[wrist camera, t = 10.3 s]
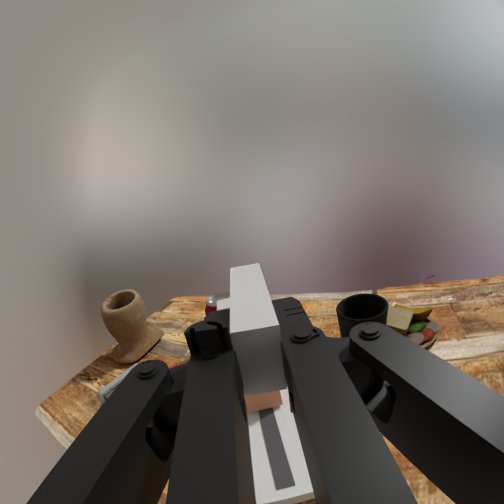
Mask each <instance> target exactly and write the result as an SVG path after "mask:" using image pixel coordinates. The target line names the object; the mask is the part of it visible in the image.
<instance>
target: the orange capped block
mask: <svg viewBox="0 0 504 504" xmlns="http://www.w3.org/2000/svg"><path fill="white" fill-rule="evenodd" d="M244 398H245V402H246V406H247V413H250V412H255V411H259V410H263V409H267V408H271V407H275V406H279V405H283V402H282V398H281V393H280V390H279V391H273V392H268V393H262V394H255V395H249V396H245V394H244Z"/></svg>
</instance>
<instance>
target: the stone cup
mask: <svg viewBox="0 0 504 504" xmlns="http://www.w3.org/2000/svg"><path fill="white" fill-rule="evenodd" d="M101 315H102V318H103V321H104V324H105V326H106V328H107V329H108V331H109V332H110V333H111V335H112V336H113V337H114V338H115V339H116V340H117V342H118V343H119V344H118V345H117V346H116V347H115V348H114V349H113V350H112V352H111V357H112V358H113V359H114V360H115V361H117V362H120V363H133V362H135V361H137V360H138V359H140V358H141V357H142V356H143V355H144V354H145V353H147V352H148V351H149V350H150V349H151V348H152V347H153V346H154V345H155V344H156V343H157V342H158V340H159V339H160V338H161V337H162V336H163V335H164V332H163V331H162V330H161V329H159V328H158V327H156V326H155V325H154V324H153V323H152V322H146V313H145V306H144V303H143V301H142V299H141V297H140V295H139V294H138V293H137V292H136V291H134V290H121V291H118V292H116V293H114V294H112V295H111V296H109V297H108V299H107V300H106V301H105V302H104V303H103V304H102V307H101Z"/></svg>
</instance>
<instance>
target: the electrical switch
mask: <svg viewBox="0 0 504 504" xmlns="http://www.w3.org/2000/svg"><path fill="white" fill-rule="evenodd" d="M136 365H138V364H137V363H135V364H134V365H133V366H131V367H130V368H129V369H127V370H126V371H125V372H123V373H122V374H121V375H119V376H118V377H117V378H115V379H114V380H113V381H111V382H110V383H109V384H107V385H106V386H105V387H103V388H102V389H101V390H99V392H98V396H99V398H100V400H101V402H102V404H104V402H105V401H106V400H107V399H108V398H109V396H110V395H111V394H112V393H113V391H114V390H115V389H116V388H117V386H118V385H119V384H120V383H121V381H122V380H123V379H124V378H125V376H126V375H127V374H128V373H129V372H130V370H131V369H132V368H133V367H135V366H136Z"/></svg>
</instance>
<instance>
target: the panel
mask: <svg viewBox="0 0 504 504" xmlns="http://www.w3.org/2000/svg"><path fill="white" fill-rule="evenodd" d="M280 393H281V398H282V402H283V405H279V406H275V407H271V408H267V409H263V410H259V411H255V412H250V413H247V415H248V426H249V437H250V448H251V458H252V468H253V478H254V487H255V497H256V504H296V503H300V502H304V501H307V500H311V499H314V498H315V496H314V492H313V488H312V484H311V480H310V477H309V473H308V469H307V465H306V461H305V458H304V454H303V450H302V446H301V442H300V438H299V435H298V431H297V427H296V423H295V419H294V416H293V412H292V413H291V411H290V402H289V394H288V387H287V389H284V390H280Z"/></svg>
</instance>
